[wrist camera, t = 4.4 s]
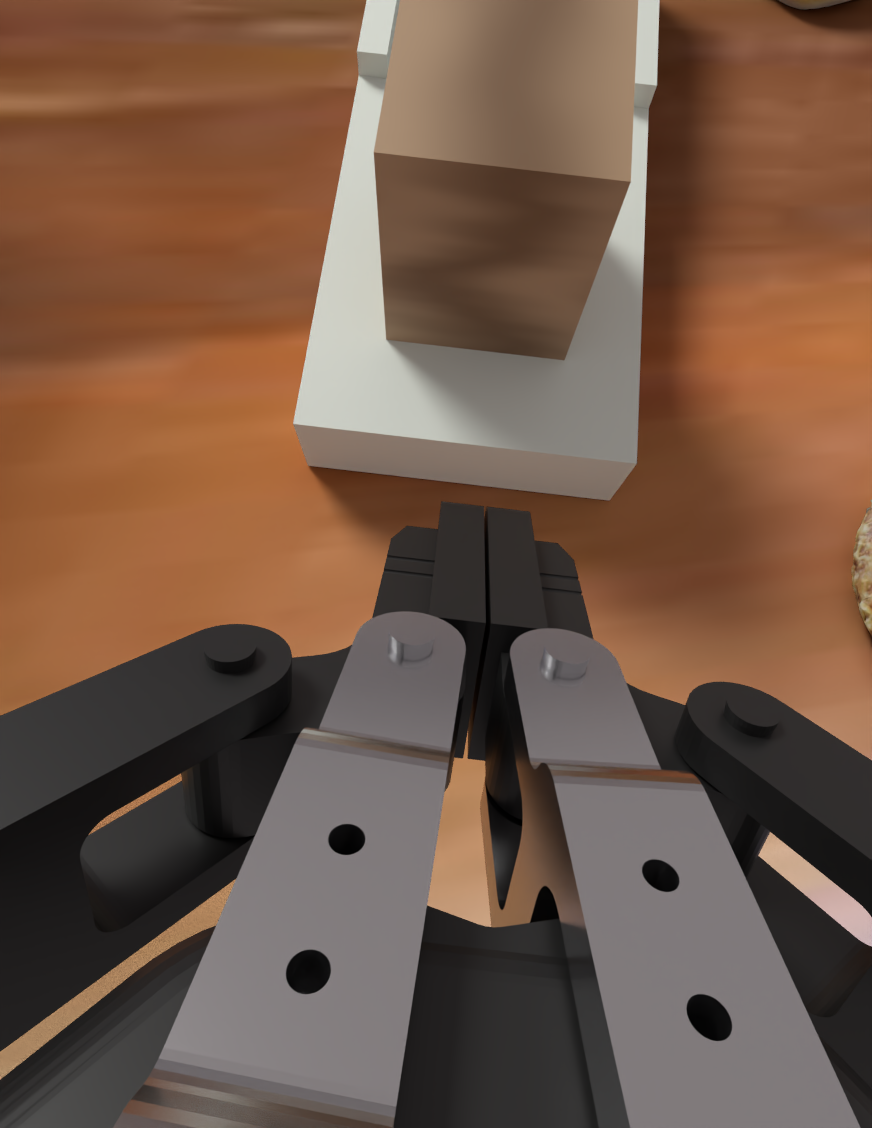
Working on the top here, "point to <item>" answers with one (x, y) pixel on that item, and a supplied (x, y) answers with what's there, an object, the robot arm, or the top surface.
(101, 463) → the top surface
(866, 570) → the bread roll
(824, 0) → the bread roll
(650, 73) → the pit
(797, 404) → the top surface
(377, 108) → the ledge
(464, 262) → the block
